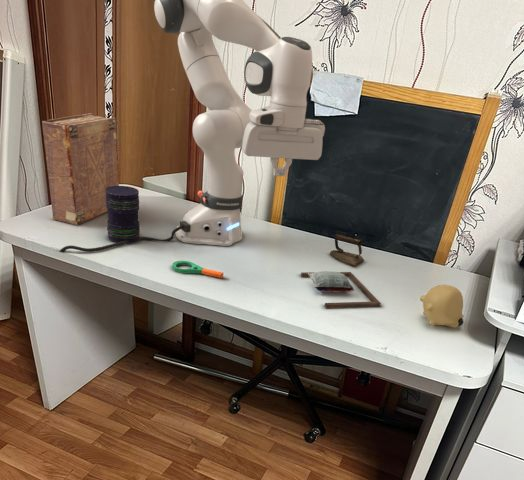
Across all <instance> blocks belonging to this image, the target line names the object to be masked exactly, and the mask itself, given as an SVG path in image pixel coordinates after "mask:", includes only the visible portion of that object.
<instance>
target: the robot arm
mask: <svg viewBox="0 0 524 480" xmlns="http://www.w3.org/2000/svg"><path fill="white" fill-rule="evenodd" d="M153 11H154V15H155V19H156V22H157V24H158V27H160V29H161V30H162V31H163V32H164V33H166V34H170V35H178V34H179V35H178V36H177V47H178V51H179V52H178V53H179V56H180V60H181V63H182V66H183V69H184V72H185V74H186V76H187V79H188V81H189V84H190V86H191V88H192V91H193V94H194V96H195V98H196V100H197V101H198V102H199V103H200V104H201V105H202V106H205V107H206V108H207V109H208V111H205V112H202V113H200V114H198V115H197V116H196V117H195V119H194V121H193V123H192V130H191V131H192V137H193V139H194V141H195V143H196V145H197V146H198V147H199V148H200V149H201V150H202V152H203V154H204V156H205V160H206V164H207V190H206V191H205V192H204V191H203V190H199V191H198V192H197V196H198V198H200V203H198V204H197V205H196V206H195V207H193V208H191V209H190V210H188V211H187V212H186V213H184V216H183V219H182V220H180V221H179V225H177V226H176V227H175V229H173V230H172V232H171V234H170V237H168V238H165V239H164V238H163V239H160V238H154V237H151V236H140V237H138V238H137V240H139V241H152V242H171V241H172V240H173V239H174V238H175V236H176V238H177V239H178V240H179V241H180V242H183V243H185V244H195V245H197V244H199V245H209V246H210V245H211V246H223V247H230V246H232V245H233V244H235V243H238V242H240V241H242V240H243V237H244V236H243V233H242V232H243V231H242V223H241V213H242V210H243V204H244V203H243V201H244V199H243V198H244V197H243V195H242V193H243V183H244V170H243V168H242V166H240V164H239V163H237V160H236V154H235V153H236V152H235V150H236V149H241V150H242V152H243V153H244V155H246V156H247V157H257V158H270V160H269V161H270V163H271V166H272V168H273V170H272V175H273V176H274V177H286V176H287V170H288V169H289V168H290V166H291V164H293V160H309V161H310V160H311V161H318V160H319V159H320V158H322V154H323V137H324V136H325V132H326V127H325V126H326V125H325V124H324V122H322V121H321V120H320V119H312V118H306V114H307V113H306V112H307V106H308V101H307V94H308V91H309V89H310V88H311V85H312V82H313V77H314V73H313V49H312V46H311V45H310V44H309V43H308V42H306V41H305V40H303V39H300V38H296V37H293V36H292V37H291V36H282V37H281V36H280V35H279V34H278V33H277V32H276V31H275V29H273V27H271V26H270V25H269V24H268V23H267V22H266V21H265V20H264V19H263V18H262V17H261V16H259V15H258V14H257V12H255V10H253V9H252V8H251V7H250V6H249V5H248V4H247V3H246V2H245V1H244V0H153ZM213 36H214V37H215V38H216V39H218V40H220V41H223V42H227V43H231V44H236V45H240V46H244V47H247V48H250V49H252V50H254V52H252V53H251V54H250V55H249V57H248V58H247V59H246V62H245V64H244V70H243V79H244V83H245V86H246V87H247V90H248V91H249V92H250V93H251V94H253V95H256V96H260V97H270V100H269V105H268V106H265V107H261V108H257V109H254V110H252V108H250V107H249V106H248V105H247V104H246V103H245V101H244V100H243V99H242V98H241V96H240V95H239V93H238V92H237V91H236V89H235V88H234V86H233V84H232V83H231V81H230V79H229V75H228V73H227V71H226V70H225V67H224V64H223V62H222V59H221V56H220V55H219V52H218V50H217V48H216V46H215V43H214V40H213ZM279 159H283V161H284V164H283V165H282V167H278V165H277V163H279ZM128 242H129V241H128V240H125V241H122V242H118V243H114V242H113V243H110V244H106V245H102V246H98V247H90V248H85V247H81V246H76V245H66V246H63V247H62V248H61V249H60V250H59V253H64V252H65V251H67V250H76V251H80V252H87V253H91V252H99V251H103V250H108V249H111V248H114V247H119V246H123V245H127V244H126V243H128Z"/></svg>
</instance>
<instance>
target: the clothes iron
mask: <svg viewBox="0 0 524 480" xmlns="http://www.w3.org/2000/svg"><path fill="white" fill-rule="evenodd" d="M339 241H340V242H344V243H347V244H351V245H354V246H357V248H358V254H356V253H352V252H349V251H344V249H342V248H341V247H340V246H339ZM362 242H363V241H362V239H357V238H353V237H348V236H345V235H341V234H339V233H336V234H335V235H334V247H335V249H333V250H331V251H330V252H329V256H330V257H331V258H333V259H334V260H336V261H338V262H339V263H343V264H344V265H347V266H350V267H353V268H356V267H357V266H359V265H361V264H362V263H363V262H364V261H365V258H364V257H363V256H362V253H363V249H362Z"/></svg>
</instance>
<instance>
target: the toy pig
mask: <svg viewBox="0 0 524 480" xmlns="http://www.w3.org/2000/svg"><path fill="white" fill-rule="evenodd" d="M419 300H420V302H422V309H423V313H422V314H423V316H425V317H426V318H427V320H428V321H429V326H431V327H433V326H435V325H437V326H445V327H448V328H457V327H462V325H463V324H464V319H463V318H464V314H463V308H464V297H463V294H462V292H461V291H460V290H459V289H458V288H457V287H455V286H453V285H449V284H439V285H436V286H434V287H431V288H430V289H429V290H428V291H427V292H426V294H425V295H421V296H420V297H419Z"/></svg>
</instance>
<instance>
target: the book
mask: <svg viewBox="0 0 524 480" xmlns="http://www.w3.org/2000/svg"><path fill="white" fill-rule="evenodd" d="M41 123H42V124H41V125H42V134H43V142H44V152H45V159H46V169H47V176H48V185H49V194H50V205H51V211H52V212H51V213H52V220H55V221H59V222H64V223H68V224H71V225H75V226H79V225H81V224H84V223H86V222H88V221H90V220H92V219H95V218H97V217H100V216H102V215H104V214H106V213H107V208H106V191H105V189H106V188H108V187H111V186H120V180H119V178H120V177H119V176H120V175H119V157H118V156H119V155H118V154H119V153H118V151H119V150H118V133H117V118H116V117H103V116H98V115H94V113H93V112H90V113H83V114H77V115H71V116H64V117H59V118H58V117H57V118H53V119H45V120H42V121H41Z"/></svg>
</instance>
